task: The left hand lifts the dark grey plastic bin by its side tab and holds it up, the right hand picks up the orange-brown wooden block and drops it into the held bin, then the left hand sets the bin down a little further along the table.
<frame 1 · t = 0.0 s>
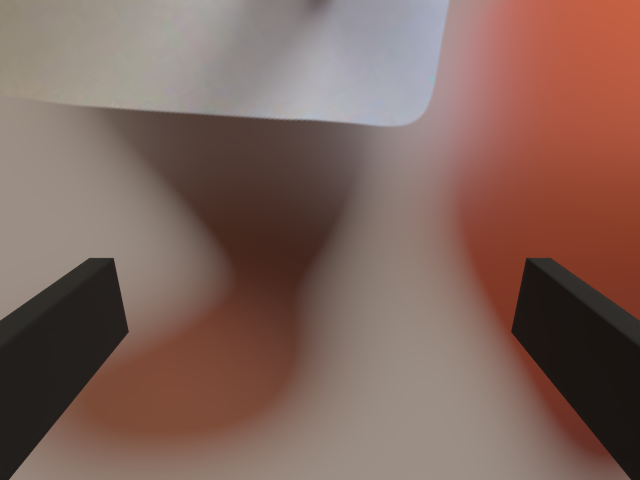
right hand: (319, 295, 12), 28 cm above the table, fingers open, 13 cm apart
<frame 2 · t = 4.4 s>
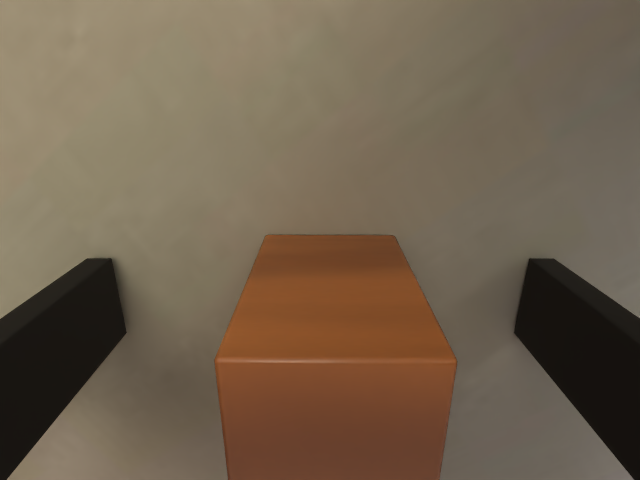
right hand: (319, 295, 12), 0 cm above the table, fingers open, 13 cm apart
block: (329, 291, 13), on the table
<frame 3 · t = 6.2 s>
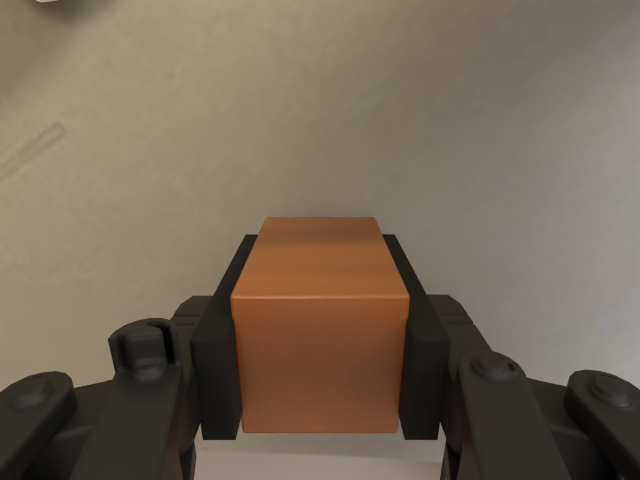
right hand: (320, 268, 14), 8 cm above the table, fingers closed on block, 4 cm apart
block: (320, 266, 15), point 8 cm above the table, touching right hand
when the right hand's fingers open (19 cm above the table, at t = 12.3 s): block drops 3 cm, resting on bin.
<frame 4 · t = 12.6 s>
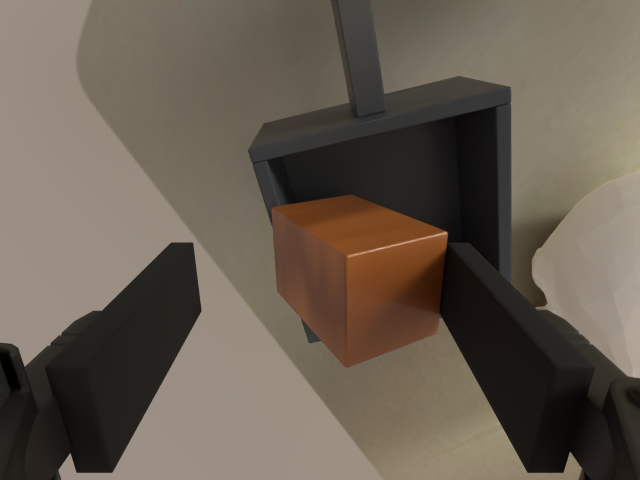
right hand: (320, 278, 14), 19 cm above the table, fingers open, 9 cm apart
block: (314, 242, 18), point 15 cm above the table, tilted 28°, touching bin, right hand
skull: (583, 272, 35), on the table
bin: (375, 192, 22), point 10 cm above the table, tilted 6°, touching block, left hand
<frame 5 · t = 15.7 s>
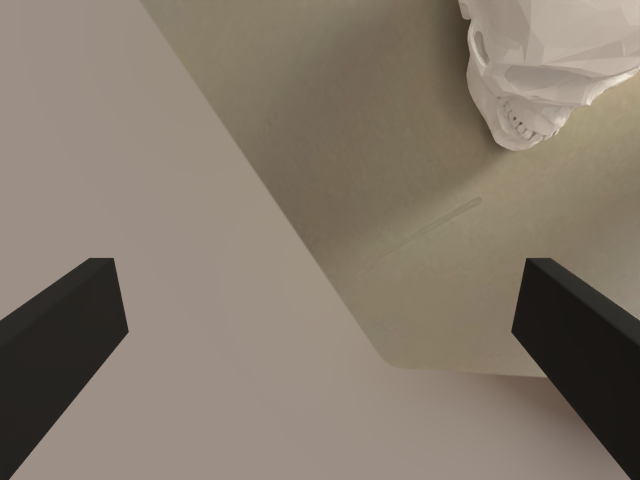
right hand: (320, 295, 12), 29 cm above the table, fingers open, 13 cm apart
skull: (516, 26, 35), on the table
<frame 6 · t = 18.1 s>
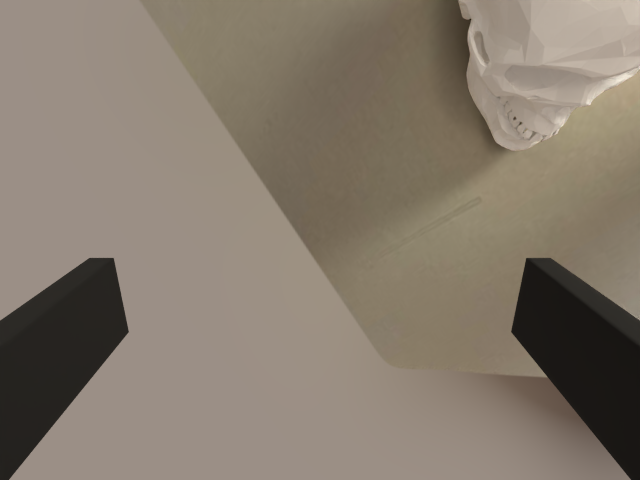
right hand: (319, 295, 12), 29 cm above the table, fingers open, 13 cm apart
skull: (516, 26, 35), on the table
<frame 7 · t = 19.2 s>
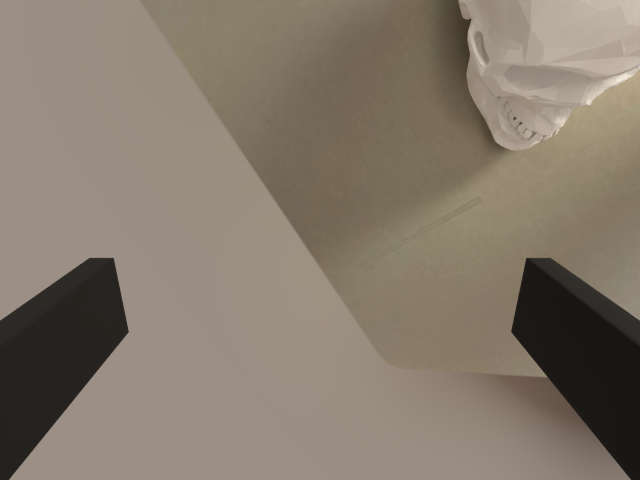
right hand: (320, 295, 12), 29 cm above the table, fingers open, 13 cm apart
skull: (516, 26, 35), on the table
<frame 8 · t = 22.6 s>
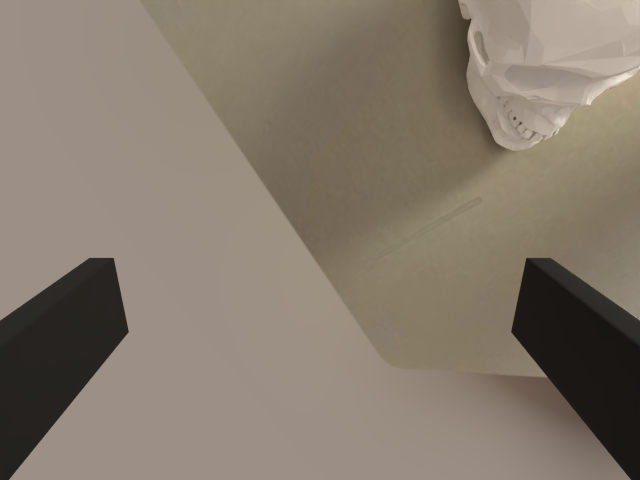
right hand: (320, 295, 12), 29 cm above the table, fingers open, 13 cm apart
skull: (516, 26, 35), on the table
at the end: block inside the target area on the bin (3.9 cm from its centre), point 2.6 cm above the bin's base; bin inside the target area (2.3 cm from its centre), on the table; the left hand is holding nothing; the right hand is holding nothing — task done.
